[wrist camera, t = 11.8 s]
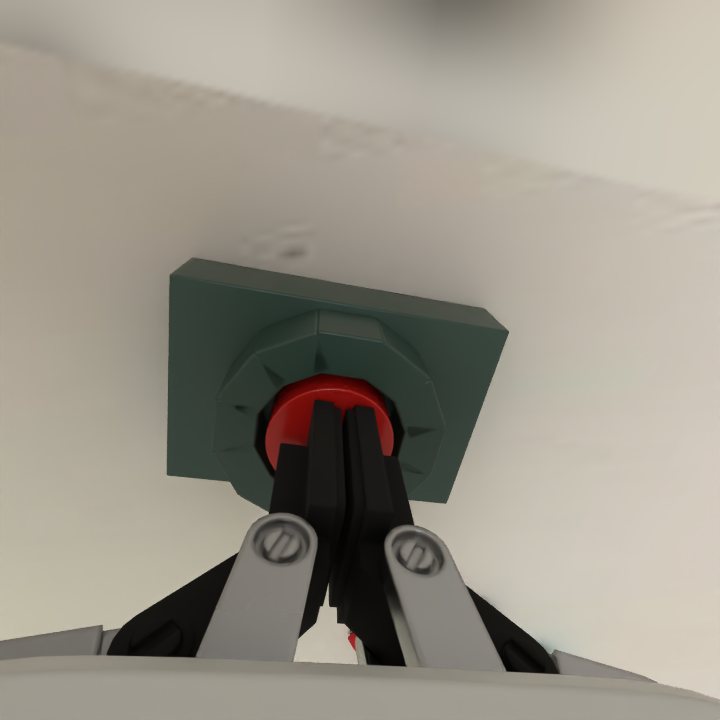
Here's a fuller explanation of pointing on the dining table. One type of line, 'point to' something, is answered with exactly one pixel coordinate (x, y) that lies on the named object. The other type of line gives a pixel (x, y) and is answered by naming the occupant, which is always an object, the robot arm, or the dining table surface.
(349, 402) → the button
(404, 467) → the button box
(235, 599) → the robot arm
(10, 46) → the dining table surface
